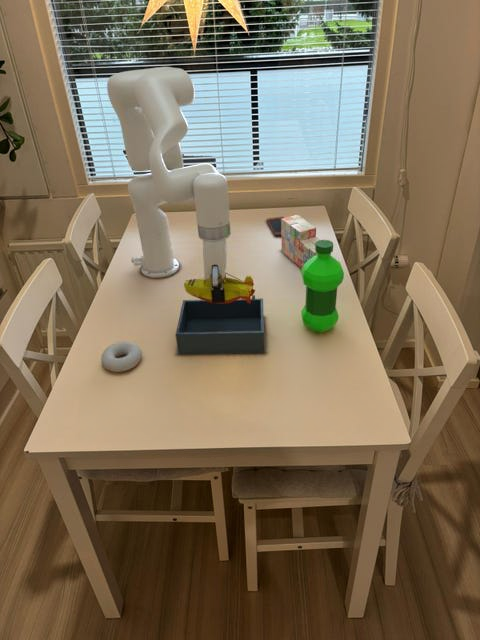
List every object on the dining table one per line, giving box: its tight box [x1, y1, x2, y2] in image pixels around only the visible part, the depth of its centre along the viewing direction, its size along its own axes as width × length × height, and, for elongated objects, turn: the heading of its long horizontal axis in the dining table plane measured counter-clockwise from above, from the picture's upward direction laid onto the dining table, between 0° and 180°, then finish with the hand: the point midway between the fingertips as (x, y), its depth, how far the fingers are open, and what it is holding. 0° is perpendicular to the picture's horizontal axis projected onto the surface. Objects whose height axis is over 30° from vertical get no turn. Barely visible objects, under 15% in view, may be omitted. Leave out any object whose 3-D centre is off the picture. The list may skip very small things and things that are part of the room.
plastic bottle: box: [300, 239, 345, 334], centre depth 122 cm, size 10×10×25 cm
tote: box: [175, 297, 265, 355], centre depth 126 cm, size 22×15×7 cm
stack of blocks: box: [281, 214, 332, 269], centre depth 155 cm, size 21×6×12 cm, turn 23°
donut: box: [101, 341, 142, 373], centre depth 120 cm, size 10×3×10 cm
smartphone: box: [266, 216, 285, 237], centre depth 180 cm, size 7×1×15 cm
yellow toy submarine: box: [183, 272, 256, 304], centre depth 118 cm, size 6×18×10 cm, turn 79°
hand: (219, 293), depth 120 cm, fingers closed on yellow toy submarine, 6 cm apart
